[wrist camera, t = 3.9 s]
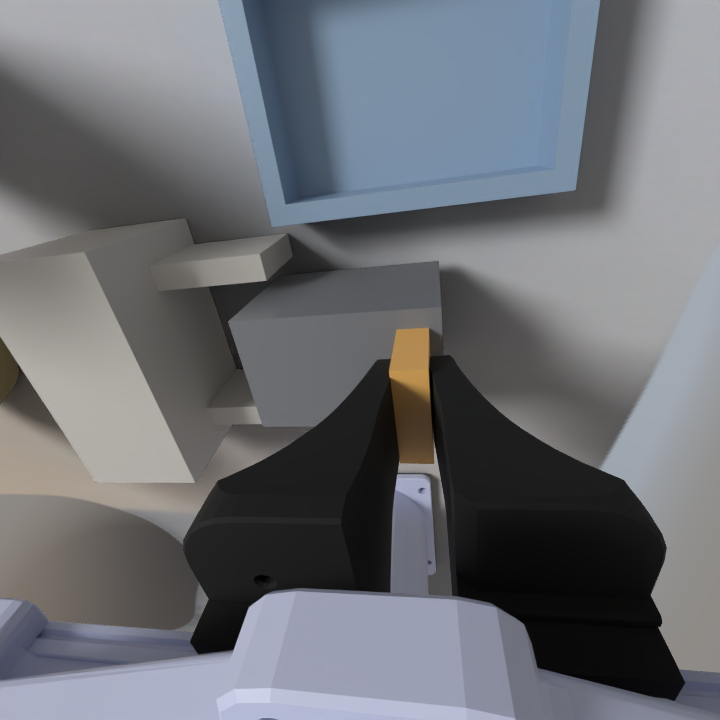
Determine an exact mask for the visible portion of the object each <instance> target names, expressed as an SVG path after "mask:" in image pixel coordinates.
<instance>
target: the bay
mask: <svg viewBox="0 0 720 720" xmlns="http://www.w3.org/2000/svg"><path fill="white" fill-rule="evenodd" d="M292 256H293V254H292V250H291V245H290V241H289V236H288V233H286V234H277V235H269V236H260V237H252V238H243V239H235V240H226V241H218V242H209V243H201V244H194V241H193V238H192V235H191V232H190V229H189V226H188V223H187V220H186V218H181V219H174V220H166V221H159V222H151V223H143V224H136V225H128V226H121V227H113V228H105V229H98V230H90V231H86V232H82V233H79V234H75V235H71V236H68V237H64V238H61V239H57V240H53V241H50V242H46V243H43V244H39V245H35V246H32V247H28V248H25V249H21V250H17V251H14V252H10V253H7V254H3V255H0V337H1V338H2V340H3V342H4V343H5V345H6V346H7V348H8V349H9V351H10V352H11V354H12V355H13V357H14V358H15V360H16V361H17V363H18V364H19V366H20V367H21V369H22V370H23V372H24V373H25V375H26V377H27V378H28V380H29V381H30V383H31V384H32V386H33V387H34V389H35V390H36V392H37V393H38V395H39V396H40V398H41V399H42V401H43V402H44V404H45V405H46V407H47V409H48V410H49V412H50V413H51V415H52V416H53V418H54V419H55V421H56V422H57V424H58V425H59V427H60V428H61V430H62V431H63V433H64V434H65V436H66V437H67V439H68V441H69V442H70V444H71V445H72V447H73V448H74V450H75V451H76V453H77V454H78V456H79V457H80V459H81V460H82V462H83V463H84V465H85V466H86V468H87V469H88V471H89V473H90V474H91V476H92V477H93V479H94V480H95V482H96V483H196V481H197V479H198V478H199V476H200V475H201V473H202V472H203V470H204V469H205V467H206V465H207V464H208V462H209V461H210V459H211V458H212V456H213V455H214V453H215V451H216V450H217V448H218V447H219V445H220V444H221V442H222V441H223V439H224V437H225V436H226V434H227V433H228V431H229V430H230V428H231V427H232V425H240V424H262V423H261V420H260V417H259V414H258V411H257V408H256V405H255V402H254V399H253V396H252V393H251V390H250V387H249V384H248V381H247V378H246V375H245V372H244V369H237V368H236V365H235V363H234V360H233V357H232V354H231V351H230V348H229V345H228V342H227V339H226V336H225V333H224V330H223V327H222V324H221V321H220V318H219V315H218V312H217V309H216V306H215V303H214V300H213V297H212V294H211V291H210V289H209V286H218V285H228V284H239V283H249V282H260V281H267V280H268V279H269V278H270V277H271V276H272V275H273V274H274V273H275V272H277V271H278V270H279V269H280V268H281V267H282V266H283V265H284V264H285V263H286V262H287V261H288V260H289V259H290V258H291V257H292Z"/></svg>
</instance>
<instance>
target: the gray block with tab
mask: <svg viewBox="0 0 720 720" xmlns="http://www.w3.org/2000/svg"><path fill="white" fill-rule="evenodd" d="M228 323H229V326H230V329H231V332H232V335H233V338H234V341H235V344H236V347H237V350H238V353H239V356H240V359H241V362H242V366H243V369H244V372H245V375H246V378H247V381H248V384H249V387H250V390H251V393H252V396H253V399H254V402H255V405H256V408H257V411H258V414H259V417H260V420H261V423H262V426H263V427H315V426H317V425H318V424H319V423H320V422H321V421H323V420H324V419H325V418H326V417H327V416H329V415H330V414H331V413H332V412H333V411H334V410H335V409H336V408H337V407H338V406H339V405H340V404H341V403H342V402H343V401H344V400H345V399H346V398H347V396H348V395H349V394H350V393H351V392H352V391H353V389H354V388H355V387H356V386H357V385H358V383H359V382H360V381H361V380H362V379H363V377H364V376H365V375H366V373H367V372H368V371H369V369H370V368H371V367H372V365H373V364H374V363H375V362H376V361H377V360H378V359H391V363H390V368H389V376H390V379H391V388H392V397H393V405H394V414H395V422H396V431H397V439H398V448H399V456H400V458H399V461H400V463H418V464H434V433H433V415H432V398H431V381H430V363H429V360H430V356H443V334H442V307H441V291H440V275H439V261H433V262H422V263H411V264H400V265H390V266H379V267H368V268H357V269H347V270H336V271H325V272H314V273H304V274H293V275H282V276H278V277H277V278H276V279H275V280H274V281H273V282H271V283H270V284H269V285H268V286H267V287H266V288H265V289H264V290H263V291H261V292H260V293H259V294H258V295H257V296H256V297H255V298H254V299H253V300H251V301H250V302H249V303H248V304H247V305H246V306H245V307H244V308H243V309H241V310H240V311H239V312H238V313H237V314H236V315H235V316H234V317H233V318H231V319H230V320H229V321H228Z"/></svg>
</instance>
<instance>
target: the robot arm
mask: <svg viewBox="0 0 720 720" xmlns="http://www.w3.org/2000/svg"><path fill="white" fill-rule="evenodd" d="M390 363H391V359H378V360H377V361H376V362H375V363H374V364H373V365H372V367H371V368H370V369H369V371H368V372H367V373H366V375H365V376H364V377H363V379H362V380H361V381H360V382H359V383H358V385H357V386H356V387H355V388H354V389H353V391H352V392H351V393H350V394H349V395H348V396H347V398H346V399H345V400H344V401H343V402H342V403H341V404H340V405H339V406H338V407H337V408H336V409H335V410H334V411H333V412H332V413H331V414H330V415H329V416H327V417H326V418H325V419H324V420H323V421H321V422H320V423H319V424H318V425H317V426H315V427H314V428H313V429H311V430H310V431H309V432H307V433H306V434H304V435H303V436H301V437H300V438H298V439H297V440H296V441H294V442H293V443H291V444H290V445H288V446H287V447H285V448H283V449H282V450H280V451H278V452H276V453H275V454H273V455H271V456H269V457H267V458H266V459H264V460H262V461H260V462H258V463H256V464H254V465H252V466H250V467H248V468H245V469H243V470H241V471H239V472H237V473H235V474H232V475H230V476H228V477H226V478H223V479H221V480H218V481H217V483H216V485H215V486H214V488H213V489H212V491H211V492H210V494H209V495H208V497H207V499H206V500H205V502H204V504H203V506H202V507H201V509H200V511H199V513H198V514H197V516H196V518H195V520H194V521H193V523H192V525H191V527H190V529H189V530H188V532H187V534H186V536H185V538H184V540H183V551H184V554H185V556H186V559H187V561H188V564H189V566H190V567H191V569H192V571H193V573H194V575H195V576H196V578H197V579H198V581H199V583H200V585H201V587H202V588H203V590H204V592H205V593H206V595H207V597H208V598H209V600H208V602H207V604H206V607H205V609H204V611H203V613H202V616H201V618H200V620H199V622H198V624H197V627H196V629H195V631H194V632H185V631H172V630H159V629H146V628H134V627H120V626H108V625H94V624H82V623H69V622H56V621H48V618H47V616H46V615H45V614H44V613H43V611H42V610H40V608H39V607H37V606H36V605H34V604H33V603H31V602H28V601H26V600H22V599H14V598H0V720H720V673H716V672H703V671H690V670H679V669H678V667H677V665H676V663H675V660H674V658H673V656H672V655H671V652H670V650H669V648H668V646H667V645H666V642H665V640H664V638H663V636H662V634H661V632H660V630H659V628H658V627H660V626H661V624H662V618H661V615H660V613H659V611H658V609H657V607H656V605H655V603H654V601H653V599H652V597H651V593H652V590H653V588H654V585H655V583H656V580H657V578H658V576H659V573H660V571H661V568H662V566H663V563H664V560H665V554H666V548H667V547H666V544H665V541H664V538H663V536H662V533H661V532H660V530H659V528H658V527H657V525H656V524H655V522H654V520H653V519H652V517H651V516H650V514H649V512H648V511H647V510H646V508H645V507H644V506H643V504H642V503H641V501H640V500H639V499H638V498H637V496H636V495H635V494H634V493H633V492H632V490H631V489H630V488H629V486H628V485H627V484H626V482H625V481H624V480H622V479H620V478H618V477H615V476H613V475H610V474H608V473H606V472H603V471H601V470H599V469H596V468H594V467H592V466H589V465H587V464H584V463H582V462H580V461H578V460H576V459H574V458H572V457H570V456H568V455H566V454H564V453H562V452H560V451H558V450H556V449H554V448H552V447H551V446H549V445H547V444H545V443H544V442H542V441H540V440H539V439H537V438H535V437H534V436H532V435H531V434H529V433H528V432H526V431H524V430H523V429H521V428H520V427H519V426H517V425H516V424H514V423H513V422H512V421H510V420H509V419H508V418H506V417H505V416H504V415H503V414H501V413H500V412H499V411H498V410H497V409H496V408H495V407H494V406H493V405H491V404H490V403H489V402H488V401H487V400H486V399H485V398H484V397H483V396H482V395H481V394H480V393H479V392H478V390H477V389H476V388H475V387H474V386H473V385H472V384H471V382H470V381H469V380H468V379H467V378H466V376H465V375H464V374H463V373H462V371H461V370H460V368H459V367H458V366H457V364H456V362H455V361H454V359H453V358H452V357H451V356H450V355H447V356H430V360H429V363H430V381H431V398H432V415H433V433H434V442H435V448H436V454H437V459H438V465H439V471H440V476H441V482H442V488H443V494H444V499H445V507H446V515H447V528H448V541H449V555H450V568H451V582H452V596H444V595H429V592H428V575H433V574H434V573H436V563H435V546H434V530H433V513H432V497H431V480H430V478H429V477H428V476H426V475H423V474H397V473H398V466H399V458H400V456H399V448H398V439H397V431H396V422H395V414H394V405H393V397H392V388H391V379H390V376H389V368H390ZM421 488H424V489H421Z"/></svg>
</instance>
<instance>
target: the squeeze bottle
mask: <svg viewBox="0 0 720 720" xmlns="http://www.w3.org/2000/svg"><path fill="white" fill-rule="evenodd" d="M18 376H19V369H18V364H17V361H16V360H15V358H14V357H13V355H12V354H11V352H10V351H9V349H8V348H7V346H6V345H5V343H4V342H3V340H2V338H1V337H0V404H1V402H2V401H3V400H4V399H5V397H6V396H7V395H8V393H9V392H10V391H11V390H12V388H13V387H14V386H15V385H16V382H17V379H18Z"/></svg>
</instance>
